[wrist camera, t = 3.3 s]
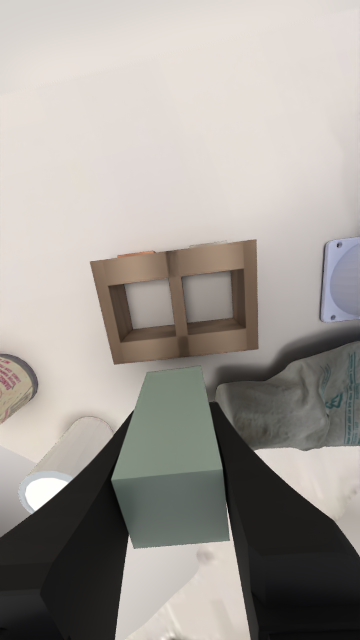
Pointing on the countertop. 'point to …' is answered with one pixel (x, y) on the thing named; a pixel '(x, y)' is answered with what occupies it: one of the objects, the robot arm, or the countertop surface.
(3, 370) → the aerosol can
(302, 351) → the countertop surface
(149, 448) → the plug
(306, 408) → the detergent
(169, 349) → the socket block
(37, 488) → the white cup
